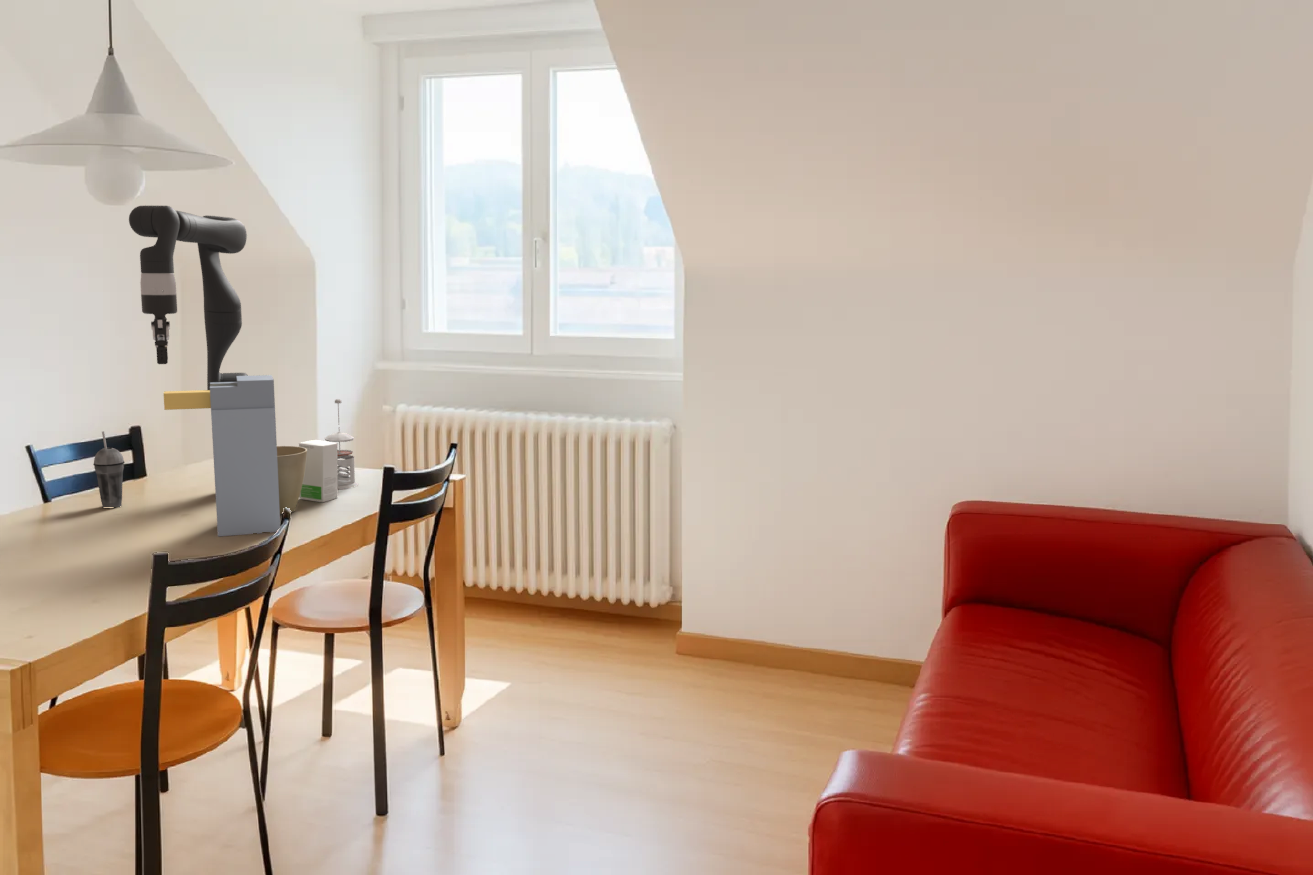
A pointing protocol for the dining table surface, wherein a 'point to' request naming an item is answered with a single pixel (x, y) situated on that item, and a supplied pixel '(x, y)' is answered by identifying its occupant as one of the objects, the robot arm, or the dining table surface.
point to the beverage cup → (109, 475)
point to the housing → (245, 455)
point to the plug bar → (187, 399)
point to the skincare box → (320, 471)
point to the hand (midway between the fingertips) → (162, 362)
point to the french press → (343, 479)
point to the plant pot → (290, 475)
